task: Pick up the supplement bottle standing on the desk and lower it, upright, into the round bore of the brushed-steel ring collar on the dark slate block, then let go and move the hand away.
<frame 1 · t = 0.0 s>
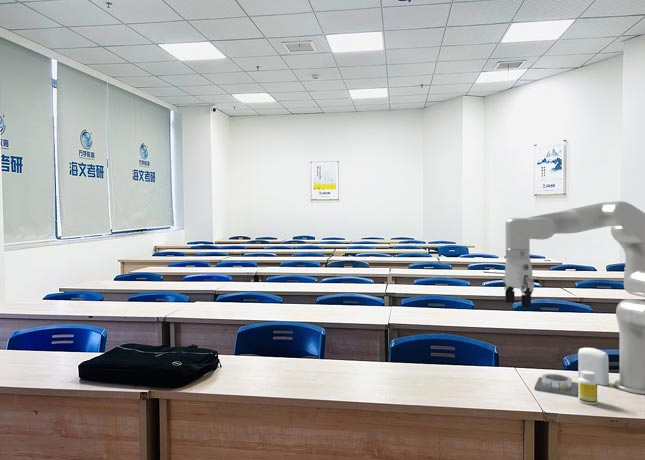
hand: (517, 304, 159), 31 cm above the table, tool pointing down, fingers open, 9 cm apart
ring collar block: (556, 387, 168), on the table
supplement bottle: (587, 402, 154), on the table
photo printer: (593, 382, 174), on the table
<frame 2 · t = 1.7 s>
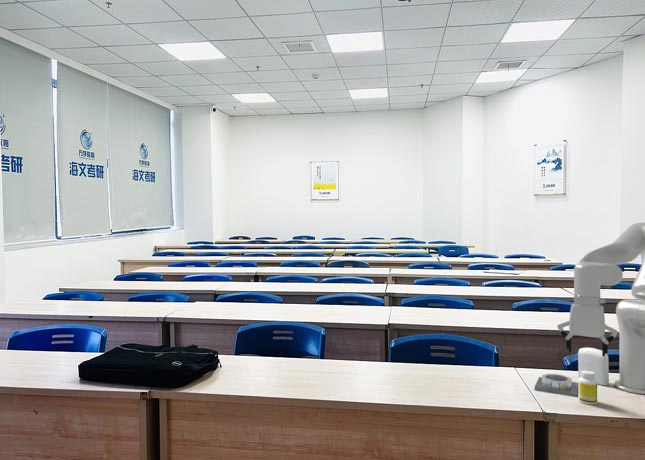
hand: (586, 353, 154), 16 cm above the table, tool pointing down, fingers open, 9 cm apart
nothing on the table moved.
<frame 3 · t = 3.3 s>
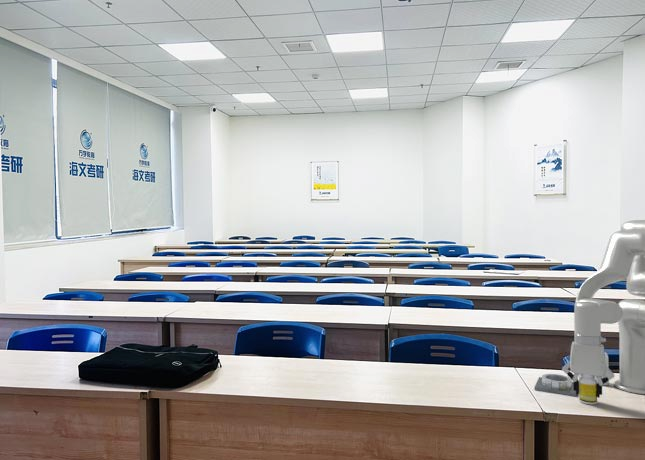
hand: (587, 394, 154), 3 cm above the table, tool pointing down, fingers closed on supplement bottle, 5 cm apart
supplement bottle: (587, 402, 154), on the table, touching gripper
everything else where it was.
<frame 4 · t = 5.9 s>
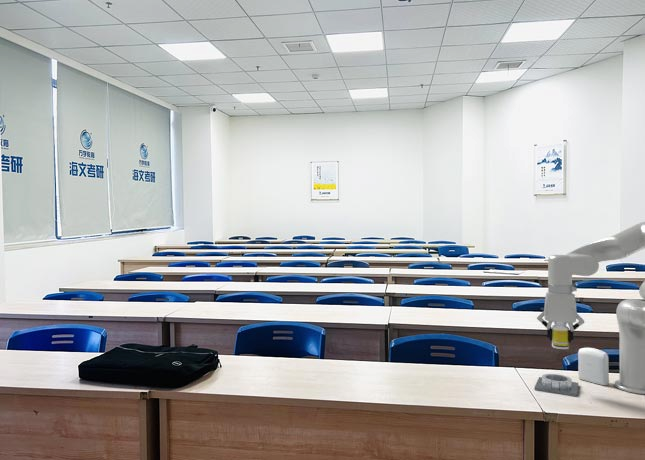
hand: (560, 340, 166), 17 cm above the table, tool pointing down, fingers closed on supplement bottle, 5 cm apart
supplement bottle: (560, 348, 166), point 15 cm above the table, touching gripper
everything else where it was.
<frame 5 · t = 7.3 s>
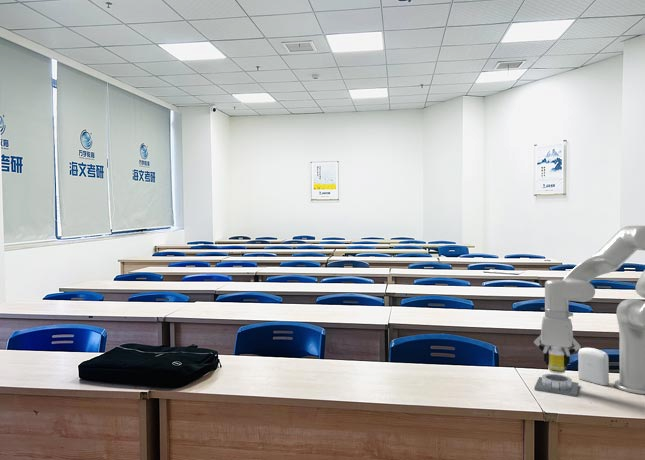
hand: (556, 364, 168), 8 cm above the table, tool pointing down, fingers closed on supplement bottle, 5 cm apart
supplement bottle: (556, 372, 167), point 6 cm above the table, touching gripper
everything else where it was.
when the fingers open (5 cm above the table, at t = 8.4 s): supplement bottle drops 1 cm, resting on ring collar block.
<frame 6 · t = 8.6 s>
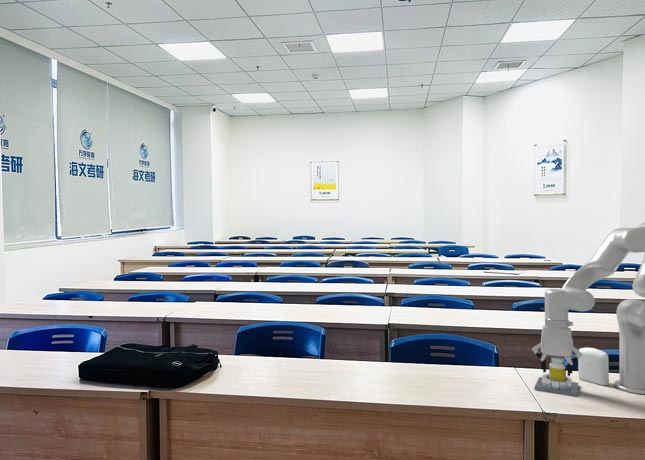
hand: (556, 372, 168), 5 cm above the table, tool pointing down, fingers open, 7 cm apart
supplement bottle: (557, 385, 167), point 1 cm above the table, touching ring collar block
everything else where it was.
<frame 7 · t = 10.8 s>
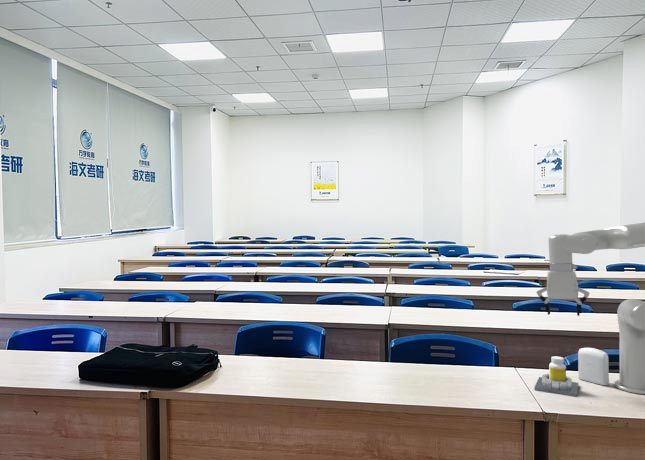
hand: (563, 314, 172), 25 cm above the table, tool pointing down, fingers open, 9 cm apart
nothing on the table moved.
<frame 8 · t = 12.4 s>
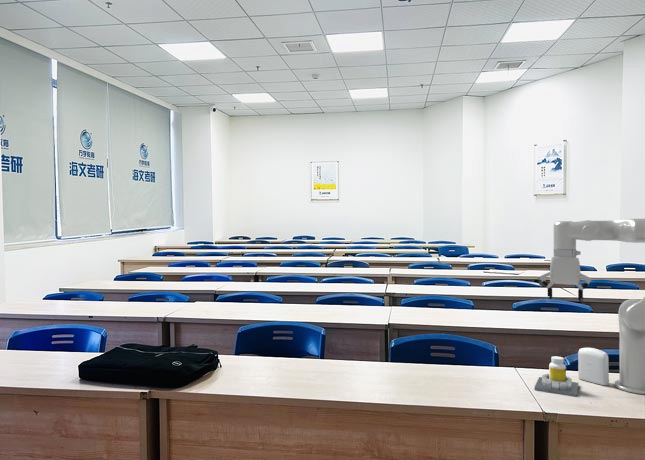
hand: (565, 299, 176), 30 cm above the table, tool pointing down, fingers open, 9 cm apart
nothing on the table moved.
at the end: supplement bottle 0.3 cm off-centre on the ring collar block, point 0.8 cm above the ring collar block's base; supplement bottle tilted 0°; the gripper is holding nothing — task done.
